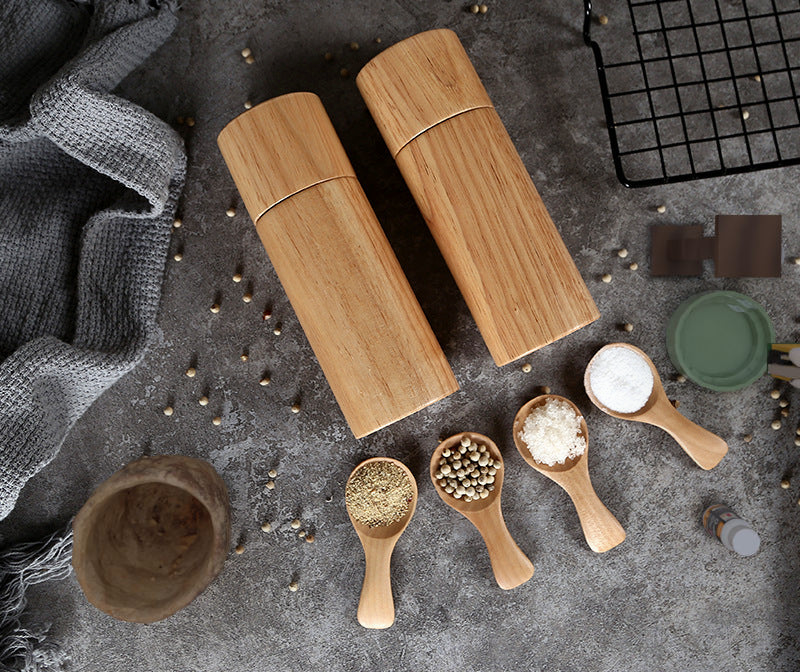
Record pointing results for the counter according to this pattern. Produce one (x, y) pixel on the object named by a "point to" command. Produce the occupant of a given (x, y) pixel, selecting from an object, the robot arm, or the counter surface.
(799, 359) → the robot arm
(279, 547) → the counter surface
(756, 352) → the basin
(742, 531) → the pill bottle
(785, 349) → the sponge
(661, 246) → the stand
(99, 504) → the brown pot
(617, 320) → the counter surface
